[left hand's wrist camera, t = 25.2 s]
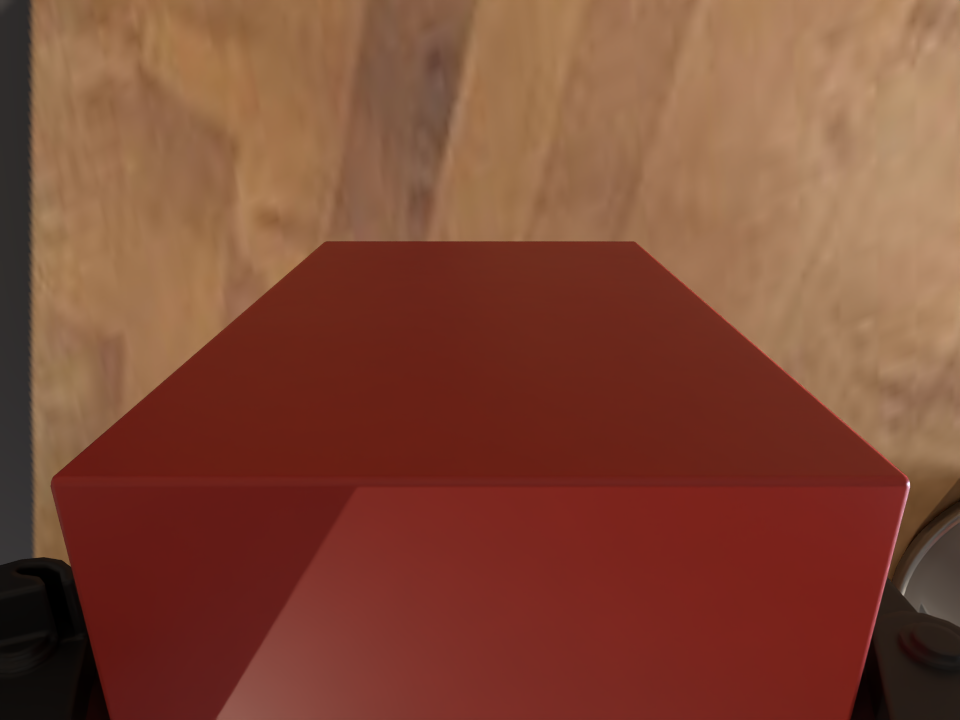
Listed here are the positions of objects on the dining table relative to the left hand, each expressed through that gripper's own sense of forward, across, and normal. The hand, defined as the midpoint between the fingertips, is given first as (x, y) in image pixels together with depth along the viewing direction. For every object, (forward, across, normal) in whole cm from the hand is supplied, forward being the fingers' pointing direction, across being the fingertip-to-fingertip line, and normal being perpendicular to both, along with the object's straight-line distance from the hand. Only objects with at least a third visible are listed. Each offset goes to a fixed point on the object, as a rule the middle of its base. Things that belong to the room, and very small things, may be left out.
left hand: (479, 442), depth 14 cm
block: (+3, 0, 0) cm, 3 cm away
